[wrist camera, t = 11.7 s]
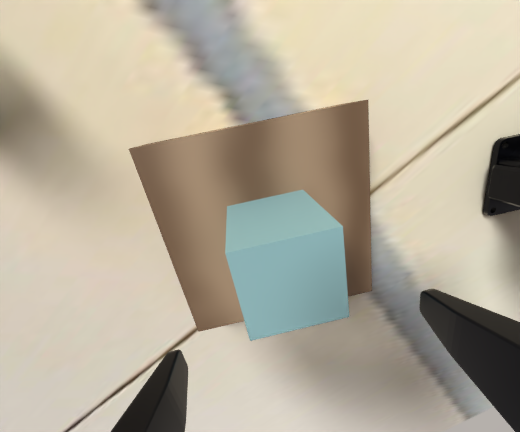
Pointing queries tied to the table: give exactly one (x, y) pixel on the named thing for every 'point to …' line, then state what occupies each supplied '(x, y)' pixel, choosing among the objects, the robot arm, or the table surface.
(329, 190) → the plinth
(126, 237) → the table surface
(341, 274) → the teal block
